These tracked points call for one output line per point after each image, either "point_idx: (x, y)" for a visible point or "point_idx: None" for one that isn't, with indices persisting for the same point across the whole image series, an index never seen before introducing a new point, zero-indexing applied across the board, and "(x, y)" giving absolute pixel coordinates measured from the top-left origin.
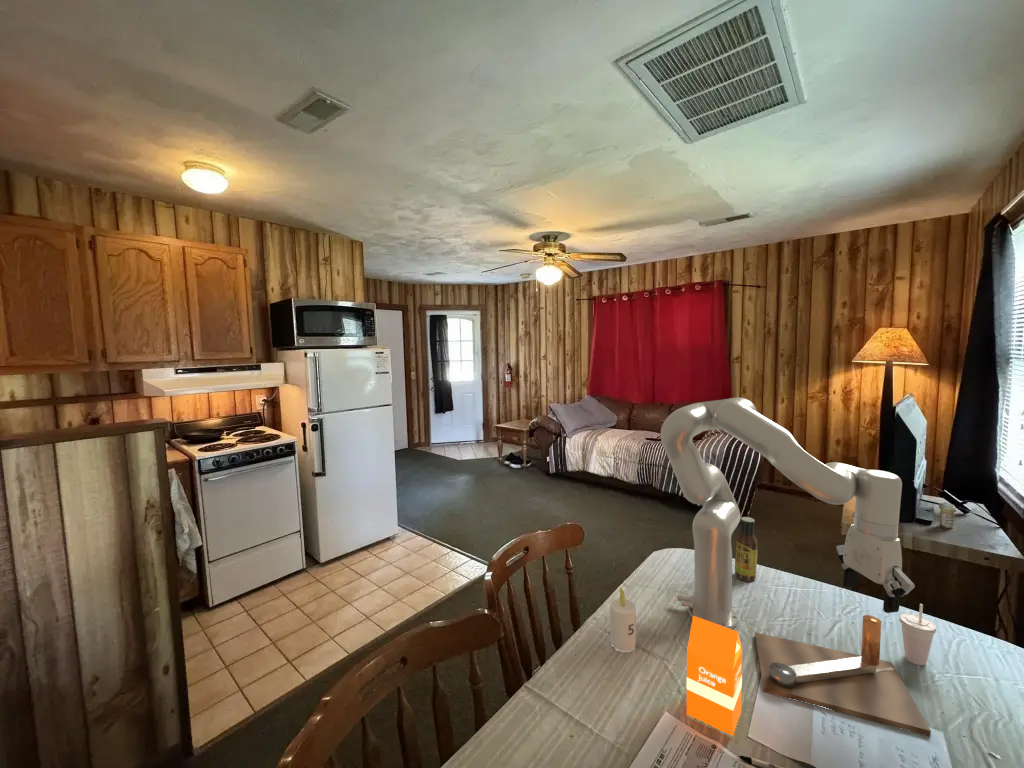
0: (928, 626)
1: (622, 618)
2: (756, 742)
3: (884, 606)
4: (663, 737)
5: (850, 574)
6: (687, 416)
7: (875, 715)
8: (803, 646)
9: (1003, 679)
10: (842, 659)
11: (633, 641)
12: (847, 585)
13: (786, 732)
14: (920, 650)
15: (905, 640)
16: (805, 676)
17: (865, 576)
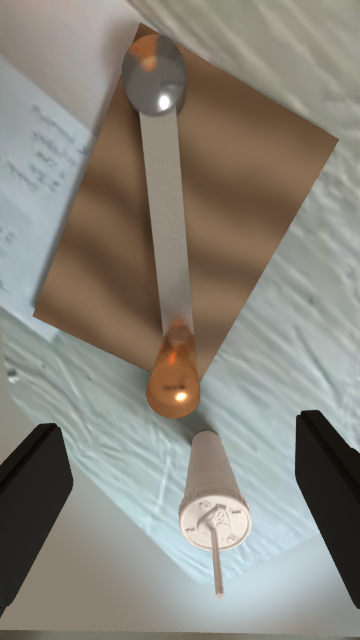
0: (193, 530)
1: None
2: None
3: (30, 443)
4: None
5: (347, 521)
6: None
7: (60, 244)
8: (263, 241)
9: (153, 525)
10: (187, 282)
11: None
12: (301, 427)
13: (30, 17)
14: (190, 461)
15: (213, 457)
16: (143, 144)
17: (60, 636)
